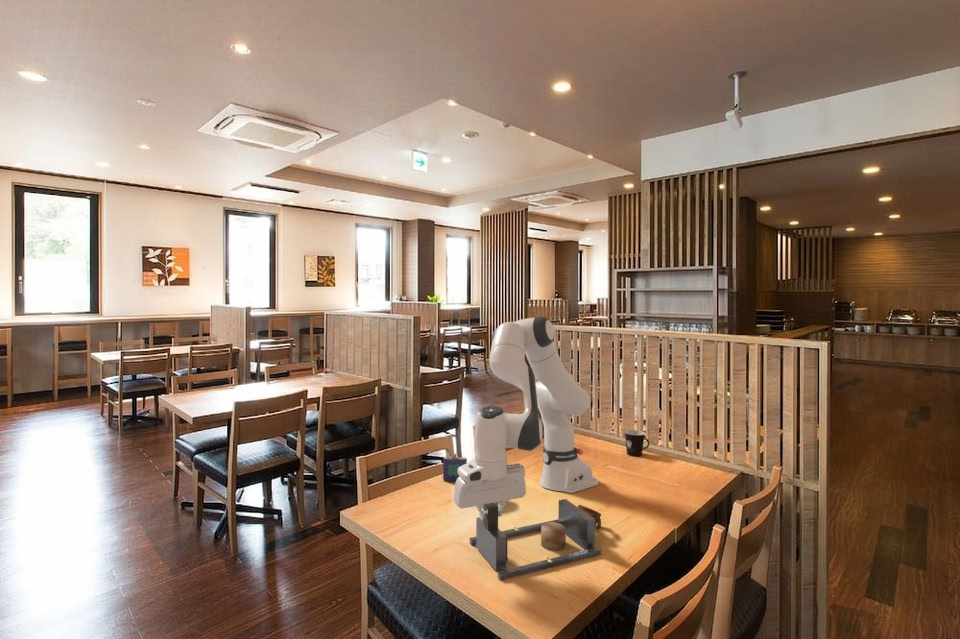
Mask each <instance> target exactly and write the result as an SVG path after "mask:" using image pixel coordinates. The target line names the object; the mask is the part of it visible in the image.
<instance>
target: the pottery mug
mask: <svg viewBox="0 0 960 639" xmlns="http://www.w3.org/2000/svg"><path fill="white" fill-rule="evenodd" d="M577 507H578V508H580V509H581V510H582V511H584V512H585V513H587V514H588V515H590V516H591V517H593V518H594V519H595V528H596V527H597V529H601V527H602V519H601V516H602V513H600V512H598V511H597V510H594V509H592V508H589V507H587V506H584V505H582V504H578V505H577Z"/></svg>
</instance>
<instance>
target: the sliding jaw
mask: <svg viewBox="0 0 960 639" xmlns="http://www.w3.org/2000/svg"><path fill="white" fill-rule="evenodd" d="M483 511H485V512H486V513H487V519H485V520H481V519H480V516H479V517H476V518H475V519H476V521H475V522H476V524H475V526H476V527H475V529H476V530H475V533H476V535H475V537H476V546H475V548H476V549H477V550H478V551H479V553H481V554H482V556H483V557H484V558H485V560H486V561H487V562H488V563H489V564H490V565H491V567H492V568H493V569H494V570H495V571H501V570H505V569H507V562H508V538H506V536H505V535H504V534H503V533H502V532H501V530H500V529H499V517H498V505H497V504H496V502H495V503H489V504H484V505H483Z"/></svg>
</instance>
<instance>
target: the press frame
mask: <svg viewBox="0 0 960 639" xmlns="http://www.w3.org/2000/svg"><path fill="white" fill-rule="evenodd" d="M548 522H555V523H560V524H562V525H564V526H565V528H566V536H567V537H568V538H569V539H571V541H573V542H574V543H576V544H577V545H578V546H579V547H580V548H582V550H580V551H576V552H572V553H569V554H568V553H567V554H564V555H560V556H556V557H553V558H550V557H546V559H543V560H541V561H535V562H532V563H528V564H523V565H519V566H515V567H512V568H506V569H502V570H498V571H497V578H498V580H499V581H504V580H508V579H513V578H515V577H520V576H523V575H527V574H532V573H535V572H539V571H542V570H543V571H544V570H547V569H551V568H555V567H558V566H563V565H566V564H571V563H575V562H579V561H583V560H586V559H590V558H594V557H598V556H601V554H602V551H601V550H602V549H600V548H599V547H596V541H595V540H596V527H595V519H594V518H593V517H591V516H590V515H588V514H587V513H585V512H584V511H582V510H581V509H580V508H578V505H575V503H572V502H571V501H569V500H568V499H566V498H563V499H559V500H558V517H557V519H553V520H548V521H544V522H539V523H533V524H530V525H526V526H525V525H524V526H520V527H517V526H515V527H513V528H510V529H506V530H502V531H501V530H500V531H501V532H502V533H503V534H504V535H505V536H506V538H507V539H508V538H513V537H517V536H522V535H526V534H530V533H531V534H532V533H535V532H539V531H540V532H541V526H542V525H543V524H545V523H548ZM469 544H470V545H471V546H475V545H476V536H473V537H470V538H469Z"/></svg>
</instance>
